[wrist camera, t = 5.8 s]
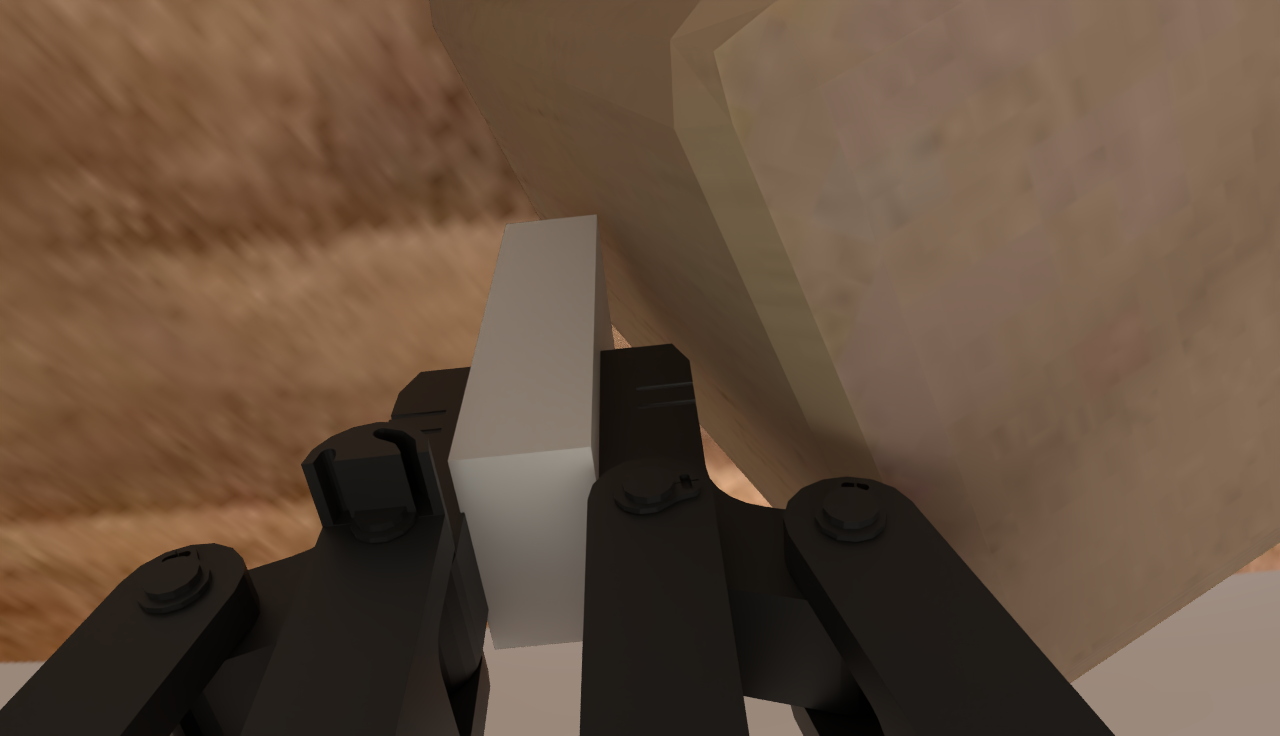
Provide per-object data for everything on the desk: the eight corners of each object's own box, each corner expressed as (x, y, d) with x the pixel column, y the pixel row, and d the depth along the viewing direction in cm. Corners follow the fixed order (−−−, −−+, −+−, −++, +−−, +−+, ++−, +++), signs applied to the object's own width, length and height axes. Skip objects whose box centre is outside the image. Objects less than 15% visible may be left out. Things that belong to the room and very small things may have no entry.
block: (850, 138, 30) (1599, 368, 13) (581, 299, 30) (991, 780, 12) (732, -191, 26) (1661, -539, 8) (408, -12, 25) (666, 30, 7)
